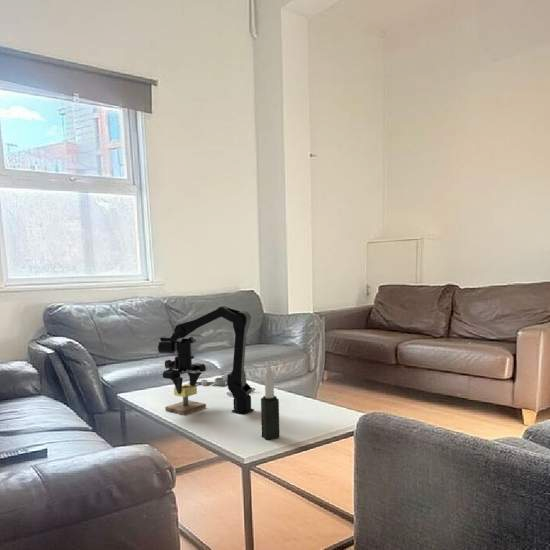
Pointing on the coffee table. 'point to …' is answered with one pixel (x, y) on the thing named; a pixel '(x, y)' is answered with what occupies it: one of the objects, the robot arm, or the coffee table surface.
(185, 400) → the brown base plate
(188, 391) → the brass square frame
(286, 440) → the coffee table surface
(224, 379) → the pulley system
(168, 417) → the coffee table surface
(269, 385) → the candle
